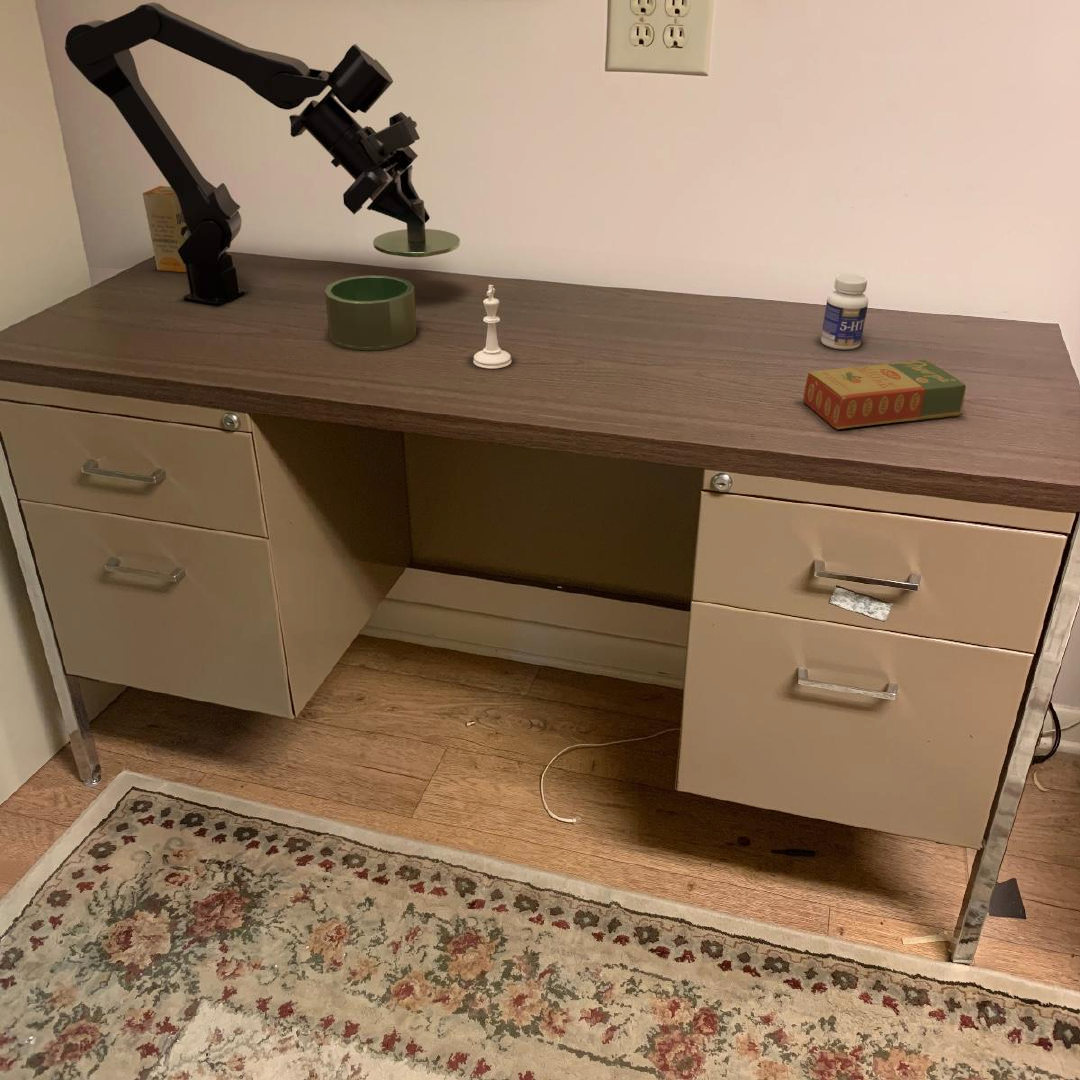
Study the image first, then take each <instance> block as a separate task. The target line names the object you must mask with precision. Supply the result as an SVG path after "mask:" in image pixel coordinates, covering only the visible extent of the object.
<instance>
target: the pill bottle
mask: <svg viewBox="0 0 1080 1080" xmlns="http://www.w3.org/2000/svg"><path fill="white" fill-rule="evenodd" d="M867 286H868V279H867V278H866V277H864V276H862V275H858V274H853V273H852V274H850V273H847V274H846V273H845V274H839V275H837V276H836V277H835V281H834V291H832V292H831V293H829V294H828V296H827V299H826V304H825V311H824V315H823V323H822V328H821V335H820V342H821V343H822V344H823V345H824V346H825V347H828V348H832V349H836V350H843V351H844V350H854V349H857V348H859V347H860V346H861V344H862V339H863V338H862V337H863V334H864V329H865V322H866V317H867V313H868V306H869V298H868V297H867V295H866V294H864V293H865V292H866V290H867Z"/></svg>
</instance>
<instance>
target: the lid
mask: <svg viewBox="0 0 1080 1080" xmlns="http://www.w3.org/2000/svg"><path fill="white" fill-rule="evenodd" d="M409 202H410V203H411V204H412V206H413V207H414V208H415V210H416V211H417V212H418V214H419V215H420V216H421V218H422V219H423V221H424V225H423V226H422V227H421V228H417V227H414V226H412V225H410V224H407V223H406V229H399V230H397V229H396V230H391V231H387V232H384V233H382V234H379V235H377V236H376V237H374V238H373V241H372V242H373V245H372V246H373V248H374V249H375V250H376V251H378V252H380V253H383V254H385V255H391V256H396V257H404V258H427V257H433V256H438V255H443V254H447V253H450V252H453V251H455V250H457V249H458V248H459V247H460V245H461V239H460V237H459V236H458V235H457V234H454V233H452V232H449V231H446V230H441V229H434V228H433V229H432V228H426V223H425V213H424V207H425V201H424V200H423V199H421V198H420V199H409Z"/></svg>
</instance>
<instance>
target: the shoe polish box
mask: <svg viewBox="0 0 1080 1080" xmlns="http://www.w3.org/2000/svg"><path fill="white" fill-rule="evenodd" d="M142 197H143V202H144V208H145V213H146V219H147V223H148V228H149V233H150V239H151V243H152V248H153V254H154V257H155V258H154V259H155V264H156V269H157V271H164V272H177V273H187V271H186V266H185V264H184V262H183V261H182V259H181V257H180V255H179V253H178V249H179V248H180V247H181V246H182V244H183V243H184V242H185V241H186V240H187V239H188V237H189V236H190V235H191V233H190V231H189V229H188V227H187V225H186V223H185V221H184V219H183V215H182V212H181V208H180V205H179V201H178V198H177V196H176V194H175V192H174V191H173V189H172V188H171V186H166V185H165V186H164V185H159V186H156V187H154V188H152V189H150V190H149V189H148V190H147V191H145V192H143V193H142Z"/></svg>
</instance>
